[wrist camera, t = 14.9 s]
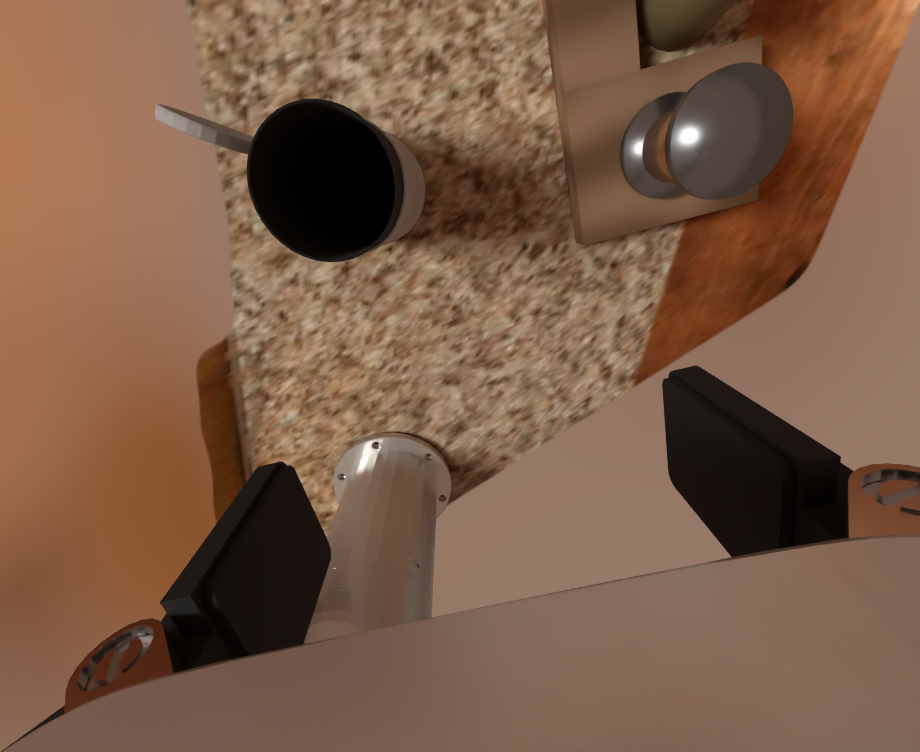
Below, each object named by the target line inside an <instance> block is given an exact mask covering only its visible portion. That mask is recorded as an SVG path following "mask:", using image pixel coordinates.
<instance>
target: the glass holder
mask: <svg viewBox="0 0 920 752" xmlns="http://www.w3.org/2000/svg"><path fill="white" fill-rule="evenodd" d="M155 118H156V119H157V120H158V121H160V122H162V123H164V124H166V125H168V126H170V127H172V128H174V129H177V130H179V131H181V132H184V133H186V134H189V135H191V136H194V137H196V138H199V139H201V140H204V141H207V142H210V143H212V144H215V145H218V146H221V147H224V148H227V149H230V150H233V151H237V152H241V153H245V154H248V160H247V182H248V187H249V192H250V196H251V199H252V202H253V204H254V207H255V209H256V211H257V213H258V215H259V217H260V218H261V220H262V222H263V223H264V225H265V226H266V227H267V229H268V230H269V231H270V232H271V234H272V235H273V236H274V237H275V238H277V239H278V240H279V241H280V242H281V243H282V244H283V245H285V246H286V247H288V248H289V249H290V250H292V251H294V252H296V253H298V254H300V255H302V256H304V257H307V258H310V259H313V260H317V261H324V262H340V261H345V260H349V259H353V258H355V257H358V256H360V255H362V254H364V253H368V252H370V251H373V250H375V249H377V248H378V247H380V246H381V245H382V244H385V243H389V242H393V241H395V240H397V239H399V238H401V237H402V236H404V235H405V234H407V233H408V232H409V231H410V230H411V229H412V228H413V226H414V225H415V224H416V222H417V221H418V219H419V217H420V215H421V212H422V210H423V206H424V202H425V181H424V177H423V172H422V170H421V167H420V165H419V162H418V161H417V159H416V157H415V156H414V154H413V153H412V151H411V150H410V149H409V148H408V147H407V146H406V145H405V144H404V143H403V142H402V141H401V140H399V139H398V138H396V137H395V136H393V135H391V134H389V133H387V132H384V131H382V130H381V129H380V128H378V127H377V126H376V125H375V124H373V123H372V122H370V121H368V120H366V119H365V118H363V117H361V116H360V115H359V114H357V113H356V112H354V111H352V110H351V109H349V108H347V107H345V106H343V105H340V104H338V103H335V102H332V101H328V100H321V99H302V100H299V101H295V102H291V103H288V104H286V105H284V106H282V107H280V108H279V109H277V110H276V111H274V112H273V113H272V114H271V115H270V116H268V117H267V118H266V119H265V121H264V122H263V123H262V124H261V126H260V127H259V128H258V130H257V132H256V134H255V136H254V137H252V136H249V135H247V134H244V133H242V132H239V131H236V130H234V129H231V128H228V127H226V126H223V125H220V124H218V123H215V122H212V121H210V120H207V119H204V118H201V117H198V116H195V115H193V114H190V113H187V112H184V111H181V110H178V109H175V108H172V107H169V106H165V105H161V104H157V106H156V109H155Z"/></svg>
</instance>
